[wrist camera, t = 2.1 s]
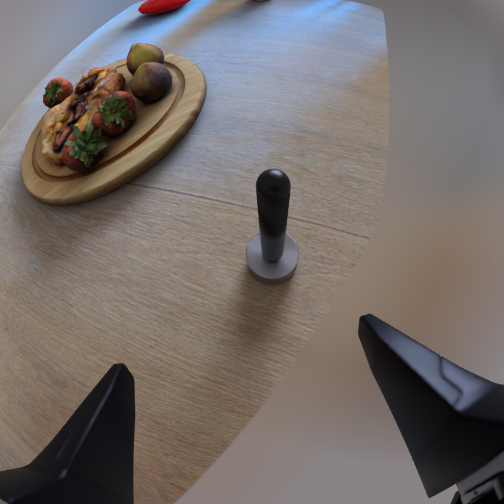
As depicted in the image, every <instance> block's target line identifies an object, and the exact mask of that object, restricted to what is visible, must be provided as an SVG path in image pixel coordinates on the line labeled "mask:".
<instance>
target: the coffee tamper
mask: <svg viewBox="0 0 504 504" xmlns="http://www.w3.org/2000/svg"><path fill="white" fill-rule="evenodd" d="M290 188H291V185H290V180H289V178H288V176H287V175H286V174H285V173H284V172H282V171H281V170H278V169H268V170H266V171H264V172H262V173H261V174H260V175H259V177H258V179H257V181H256V193H257V205H258V216H259V228H260V233H258V234H257V235H255V236H254V237H253V238H252V239H251V241H250V242H249V244H248V246H247V250H246V258H247V263H248V267H249V270H250V272H251V274H252V276H253V277H254V278H255V279H256V280H257V281H259V282H261V283H263V284H266V285H279V284H282V283H284V282H286V281H287V280H289V279H290V278H291V276H292V275H293V274H294V272H295V269H296V266H297V262H298V258H299V251H298V246H297V244H296V242H295V241H294V239H293V238H292V237H291V236H290V235H288V234H287V233H286V226H287V217H288V208H289V198H290Z"/></svg>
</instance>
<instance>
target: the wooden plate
mask: <svg viewBox="0 0 504 504" xmlns="http://www.w3.org/2000/svg"><path fill="white" fill-rule="evenodd" d="M45 90H46V92H45V94H44V95H43V103H44V104H45V105H46V106H47V107H48V108H49V109H48V111H47V112H46V113H45V114H44V116H43V117H42V118H41V120H40V121H39V123H38V124H37V126H36V127H35V129H34V131H33V132H32V134H31V136H30V138H29V140H28V143H27V145H26V148H25V151H24V155H23V160H22V179H23V183H24V185H25V187H26V189H27V191H28V192H29V193H30V195H31V196H32V197H33V198H34V199H36V200H37V201H39V202H41V203H44V204H48V205H54V206H63V205H73V204H78V203H82V202H85V201H88V200H91V199H94V198H97V197H99V196H101V195H104V194H106V193H108V192H110V191H112V190H114V189H116V188H118V187H120V186H122V185H124V184H125V183H127V182H129V181H130V180H132V179H133V178H135V177H136V176H138V175H139V174H140V173H142V172H143V171H144V170H146V169H147V168H149V167H150V166H152V165H153V164H154V163H155V162H157V161H158V160H159V159H161V158H162V157H163V156H164V155H165V154H166V153H167V152H169V151H170V150H171V149H172V148H173V147H174V146H175V145H176V144H177V143H178V142H179V141H180V140H181V139H182V138H183V136H184V135H185V134H186V133H187V132H188V130H189V129H190V128H191V126H192V125H193V123H194V122H195V120H196V119H197V117H198V115H199V113H200V111H201V109H202V106H203V104H204V101H205V97H206V91H207V86H206V81H205V77H204V75H203V73H202V71H201V70H200V68H199V67H198V66H197V65H196V64H195V63H193V62H192V61H190V60H188V59H186V58H184V57H181V56H178V55H173V54H166V53H163V52H162V50H160V49H159V48H158V47H156V46H154V45H151V44H147V43H138V44H133V45H132V46H131V49H130V51H129V53H128V56H127V58H126V59H123V60H120V61H117V62H115V63H112V64H110V65H107V66H105V67H103V68H94V69H91V70H90V71H89V73H88V74H84V75H83V76H82V78H81V80H80V81H79V82H78V83H77V84H75V85H74V86H72V84H71V83H70V82H69V81H67V80H65V79H63V78H54V79H52V80H51V81H50V82H49V83H48V85H47V87H46V88H45Z"/></svg>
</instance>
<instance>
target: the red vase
mask: <svg viewBox="0 0 504 504" xmlns="http://www.w3.org/2000/svg"><path fill="white" fill-rule="evenodd" d="M189 1H190V0H148V1H146V2H144V3H143V4H142V5H141V6H140V7H139V9H138V10H139V12H140V13H142V14H159V13H164V12H168V11H171V10H174V9H177V8H179V7H181V6H183V5H185V4H186V3H188V2H189Z"/></svg>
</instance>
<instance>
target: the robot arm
mask: <svg viewBox="0 0 504 504" xmlns="http://www.w3.org/2000/svg"><path fill="white" fill-rule="evenodd" d="M358 335H359V339H360V341H361V344H362V346H363V349H364V352H365V355H366V358H367V360H368V363H369V366H370V369H371V371H372V373H373V375H374V377H375V379H376V381H377V383H378V385H379V387H380V389H381V391H382V394H383V395H384V398H385V400H386V402H387V404H388V406H389V408H390V410H391V412H392V415H393V416H394V419H395V421H396V423H397V425H398V427H399V429H400V432H401V434H402V436H403V438H404V440H405V443H406V445H407V447H408V450H409V452H410V454H411V456H412V459H413V461H414V464H415V466H416V469H417V471H418V473H419V476H420V478H421V481H422V483H423V485H424V488H425V490H426V493H427V495H428V497H429V498H431V497H432V496H435V495H436V494H438V493H440V492H442V491H444V490H446V489H447V488H449V487H451V486H453V485H454V484H456V485H457V488H458V491H457V492H456V493H455V495H454V497H453V500H452V502H451V504H504V385H501V384H497V383H494V382H491V381H489V380H487V379H485V378H482V377H480V376H478V375H476V374H474V373H472V372H469V371H467V370H465V369H463V368H461V367H459V366H458V365H456V364H454V363H452V362H450V361H449V360H447V359H445V358H444V357H442V356H441V357H440V355H439V354H437V353H435V352H434V351H432V350H430V349H429V348H427V347H425V346H424V345H422V344H420V343H419V342H417V341H415V340H414V339H412V338H410V337H409V336H407V335H405V334H404V333H402V332H400V331H399V330H397V329H395V328H394V327H392V326H390V325H389V324H387V323H385V322H383V321H382V320H380V319H379V318H377V317H375V316H374V315H372V314H367V315H363V316H361V317H360V319H359V329H358ZM134 429H135V387H134V377H133V375H132V374H131V373H130V371H129V370H128V368H127V367H126V366H125V365H124V364H123V363H120V364H114V365H113V366H112V367H111V368H110V369H109V370H108V372H107V373H106V374H105V375H104V377H103V378H102V379H101V380H100V381H99V383H98V384H97V385H96V386H95V387H94V389H93V390H92V391H91V392H90V394H89V395H88V396H87V397H86V399H85V400H84V401H83V402H82V404H81V405H80V406H79V407H78V409H77V410H76V411H75V412H74V414H73V415H72V416H71V417H70V419H69V420H68V421H67V422H66V424H65V425H64V426H63V427H62V429H61V430H60V431H59V432H58V434H57V435H56V436H55V437H54V439H53V440H52V441H51V442H50V443H49V444H48V445H47V446H46V447H45V448H44V450H43V451H42V452H41V453H40V454H39V455H38V456H37V457H36V458H35V459H34V460H33V461H32V462H31V463H30V464H28V465H26V466H24V467H21V468H16V469H11V470H5V471H0V504H134V494H133V455H134Z"/></svg>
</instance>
